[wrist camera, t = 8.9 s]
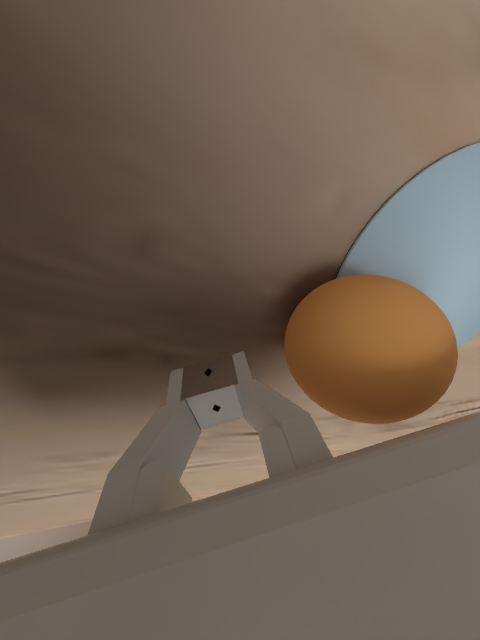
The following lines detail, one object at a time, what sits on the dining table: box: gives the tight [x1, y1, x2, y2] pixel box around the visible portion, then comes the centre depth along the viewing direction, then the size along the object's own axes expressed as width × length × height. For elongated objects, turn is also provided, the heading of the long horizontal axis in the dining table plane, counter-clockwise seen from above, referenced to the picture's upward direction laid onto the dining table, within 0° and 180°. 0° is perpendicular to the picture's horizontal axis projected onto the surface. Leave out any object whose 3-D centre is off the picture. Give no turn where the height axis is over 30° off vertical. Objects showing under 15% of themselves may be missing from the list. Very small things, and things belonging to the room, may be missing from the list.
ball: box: [285, 274, 458, 424], centre depth 8 cm, size 5×5×5 cm
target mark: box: [336, 142, 480, 348], centre depth 11 cm, size 12×12×1 cm
